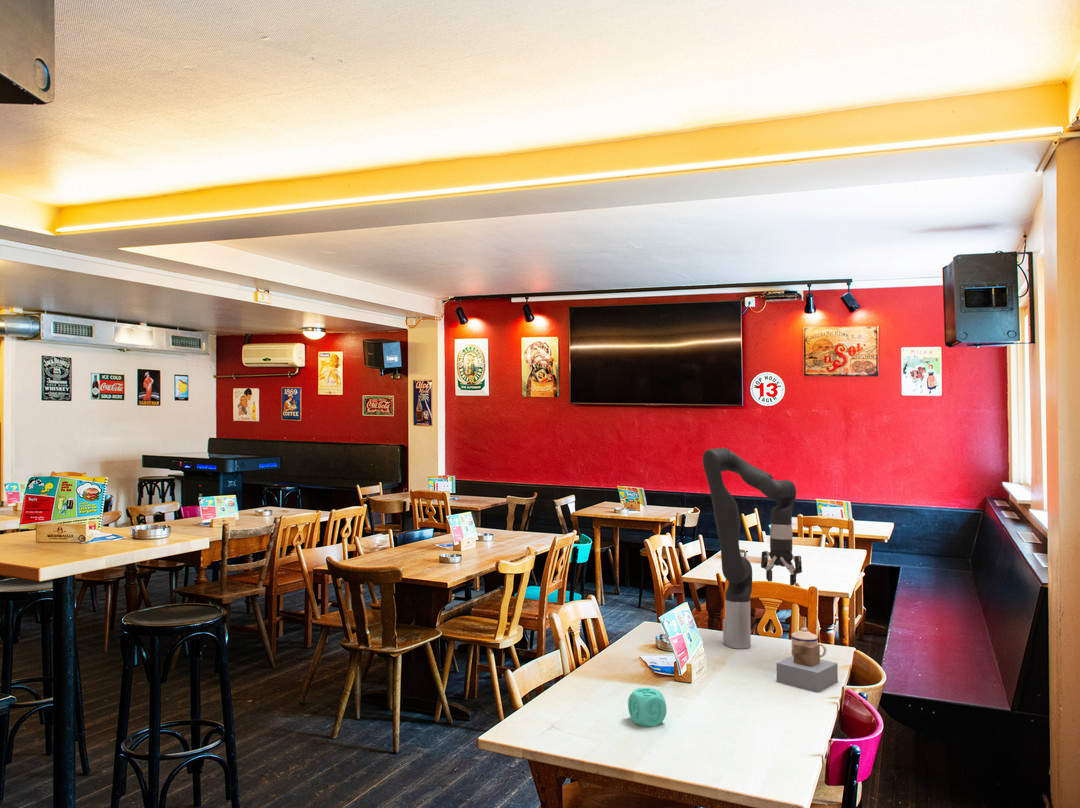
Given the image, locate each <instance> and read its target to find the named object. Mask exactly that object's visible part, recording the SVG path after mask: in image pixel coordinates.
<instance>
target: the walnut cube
mask: <svg viewBox="0 0 1080 808" xmlns="http://www.w3.org/2000/svg"><path fill="white" fill-rule="evenodd" d="M820 651H821V646H820V644H815V643H811V642H806V641H800V642H798V643H795V644H794V663H796V664H800V665H804V666H809V667H813V666H815V665H817V664H819V663H820V659H821V658H820V655H821V653H820Z"/></svg>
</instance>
